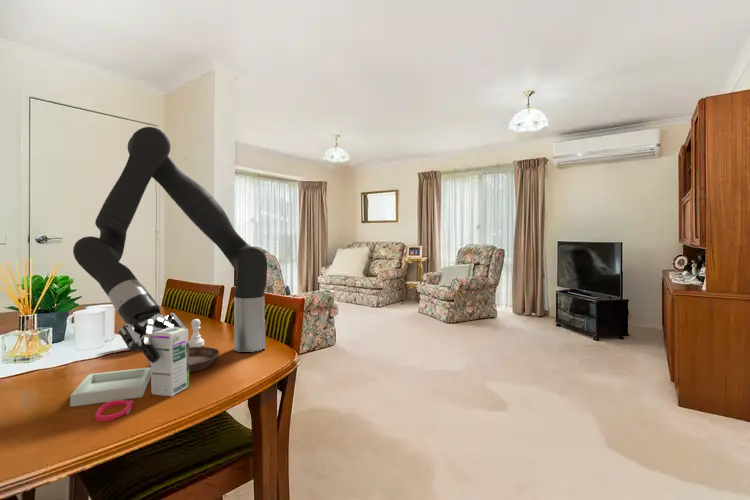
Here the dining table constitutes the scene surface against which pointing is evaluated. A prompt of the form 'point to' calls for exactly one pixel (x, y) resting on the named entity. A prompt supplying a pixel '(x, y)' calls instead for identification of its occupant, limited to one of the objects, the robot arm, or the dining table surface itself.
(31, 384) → the dining table surface
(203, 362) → the plant saucer
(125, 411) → the fitness band
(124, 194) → the robot arm
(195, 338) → the chess pawn
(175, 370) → the syrup box
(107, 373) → the tray
